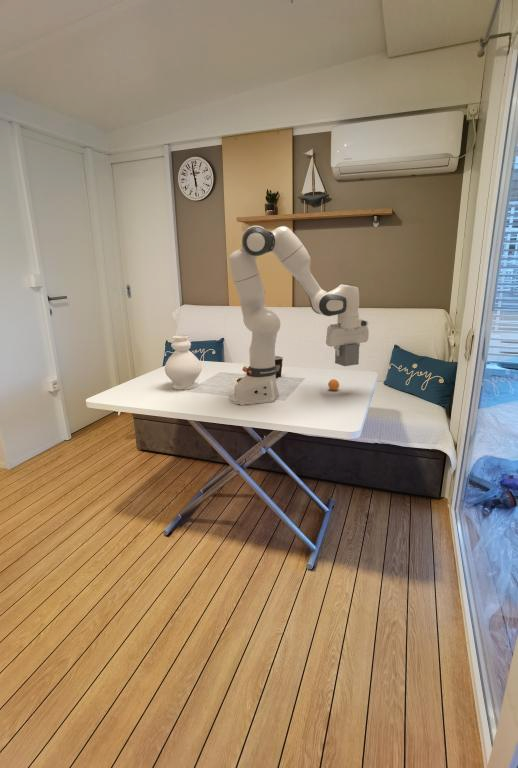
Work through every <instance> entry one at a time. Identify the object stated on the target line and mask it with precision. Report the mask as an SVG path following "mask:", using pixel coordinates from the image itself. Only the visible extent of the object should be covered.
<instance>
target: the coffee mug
mask: <svg viewBox="0 0 518 768" xmlns="http://www.w3.org/2000/svg"><path fill="white" fill-rule="evenodd" d="M283 359H284V358H283V356H279V355H275V365H276V379H278V377H279V378H281V377H282V369H283V361H284V360H283Z"/></svg>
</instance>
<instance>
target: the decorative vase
mask: <svg viewBox="0 0 518 768" xmlns="http://www.w3.org/2000/svg"><path fill="white" fill-rule="evenodd" d="M188 338H189V335H187V334H181V335H173V336H172V339H173V341H172V342H171V344H170V346H171V348H172V350H174V351H173V352H172V354H171V355H170V356H169V357H168V359H167V360H166V362H165V365H164V372H165V375H166V376H167V378H169V379H170V381H172V383H173V384H172V386H171V388H172V387H173V388H174V389H173V388H172V389H173V390H177V389H186V390H192V389H194V388H196V387H198V385H199V384H198V383H197V382H196V380H198V377H199V376H200V374H201V373H202V370H203V369H202V367H203V366H202V362H201V361H200V360H199V358H198V357H197V356H196V355H195V354H194V353H193V352H192V351H190V350H189V349H190V347H191V346H192V342H191V341H190V340H189V339H188Z"/></svg>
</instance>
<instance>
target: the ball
mask: <svg viewBox="0 0 518 768" xmlns="http://www.w3.org/2000/svg"><path fill="white" fill-rule="evenodd" d="M327 385H328V389H330V390H331V391H336V390H338V389H339V387H340V382H339V380H337V379H336V378H334V379H333V378H332V379H330V380H329V382H328V383H327Z"/></svg>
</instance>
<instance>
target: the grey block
mask: <svg viewBox="0 0 518 768" xmlns="http://www.w3.org/2000/svg"><path fill="white" fill-rule="evenodd" d="M338 349H339V351H341V356H337V355H336V350H335V349H334V353H335V355H334V364H336V365H340V366H343V367H350V366H356V365H359V363H360V362H359V360H360V359H359V357H360V346H359V344H348V345H341V346H340V348H338Z"/></svg>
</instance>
